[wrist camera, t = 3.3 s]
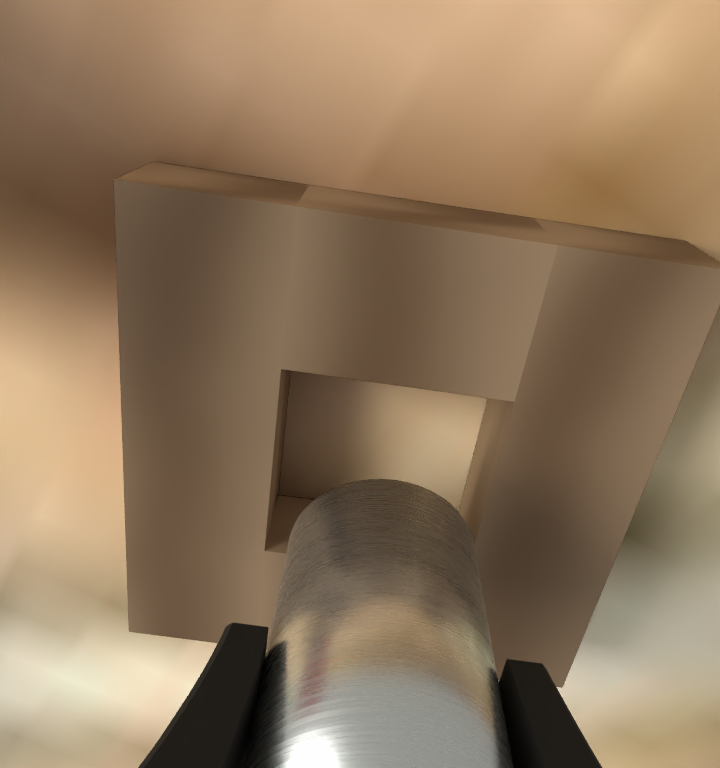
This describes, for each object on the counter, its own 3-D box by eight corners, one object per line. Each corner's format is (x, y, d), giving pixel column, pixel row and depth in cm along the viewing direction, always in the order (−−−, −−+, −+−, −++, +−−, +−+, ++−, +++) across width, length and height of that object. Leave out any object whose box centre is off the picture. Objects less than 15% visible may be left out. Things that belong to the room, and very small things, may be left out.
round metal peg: (493, 493, 13) (590, 889, 7) (454, 633, 15) (502, 1048, 9) (296, 466, 13) (213, 847, 7) (280, 611, 15) (203, 1016, 9)
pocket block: (685, 240, 16) (733, 271, 14) (544, 622, 22) (562, 687, 20) (152, 161, 16) (113, 179, 13) (156, 571, 21) (129, 631, 19)
